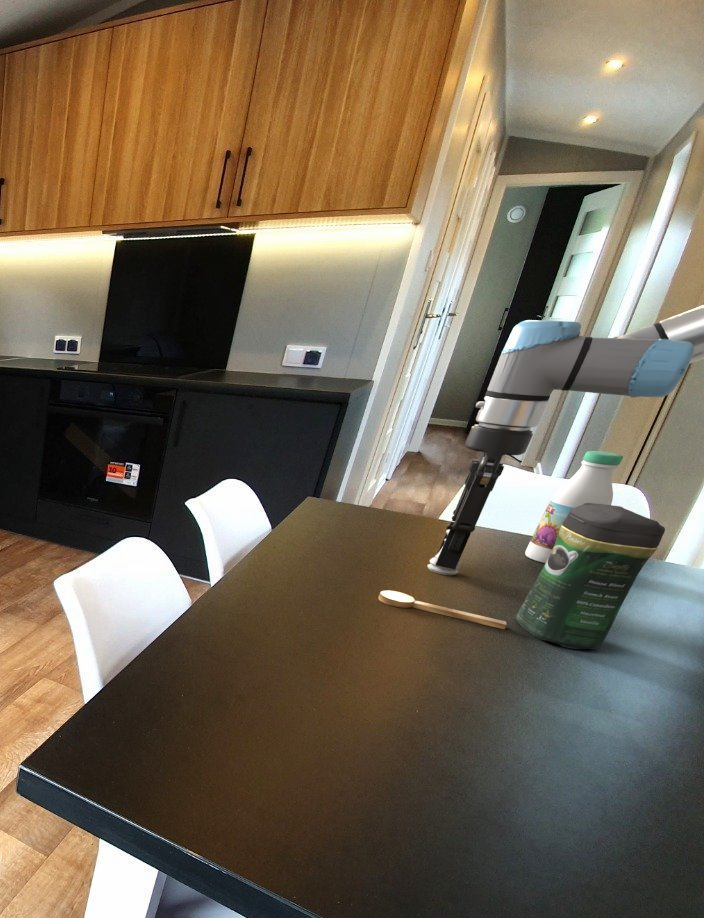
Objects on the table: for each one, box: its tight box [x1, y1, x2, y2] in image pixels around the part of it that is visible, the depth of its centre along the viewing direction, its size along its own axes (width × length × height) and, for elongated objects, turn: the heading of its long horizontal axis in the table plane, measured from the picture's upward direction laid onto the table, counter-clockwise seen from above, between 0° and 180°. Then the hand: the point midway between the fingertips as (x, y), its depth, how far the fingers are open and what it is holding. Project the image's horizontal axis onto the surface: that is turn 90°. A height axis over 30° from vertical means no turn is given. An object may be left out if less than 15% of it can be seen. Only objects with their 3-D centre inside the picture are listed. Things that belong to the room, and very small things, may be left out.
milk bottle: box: [525, 450, 624, 564], centre depth 113 cm, size 8×8×20 cm
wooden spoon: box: [378, 590, 508, 630], centre depth 95 cm, size 15×4×1 cm, turn 51°
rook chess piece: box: [427, 529, 462, 576], centre depth 109 cm, size 4×4×8 cm
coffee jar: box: [515, 503, 666, 650], centre depth 85 cm, size 10×8×19 cm
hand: (445, 562), depth 110 cm, fingers closed on rook chess piece, 4 cm apart
